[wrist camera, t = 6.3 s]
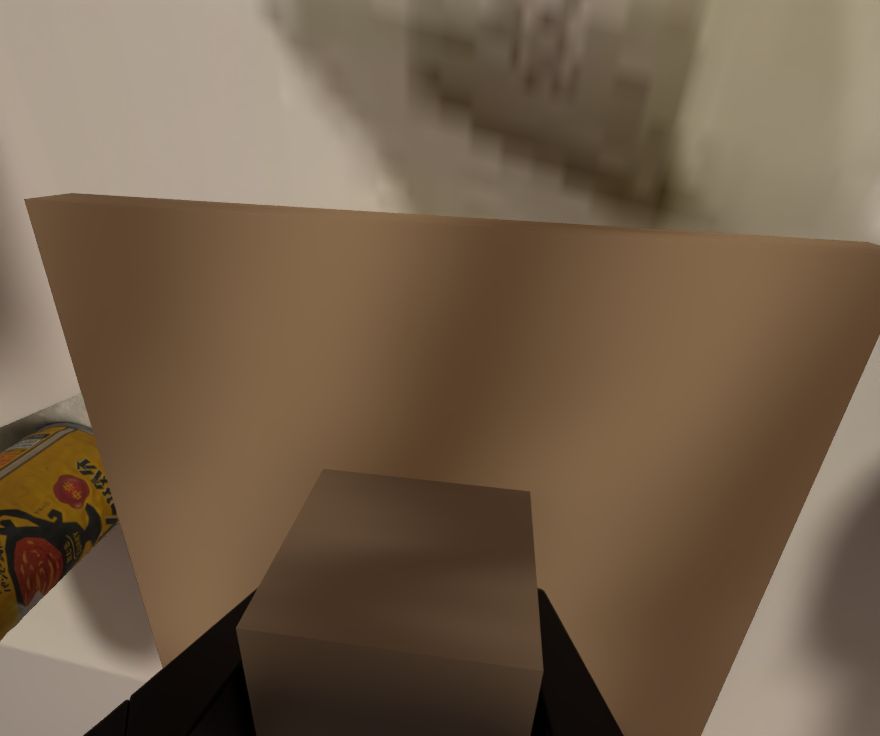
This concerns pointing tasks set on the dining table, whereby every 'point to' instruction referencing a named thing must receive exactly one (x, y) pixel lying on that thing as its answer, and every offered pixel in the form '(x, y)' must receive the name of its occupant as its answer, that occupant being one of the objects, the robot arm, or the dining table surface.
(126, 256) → the lid
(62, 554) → the condiment
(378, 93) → the dining table surface
